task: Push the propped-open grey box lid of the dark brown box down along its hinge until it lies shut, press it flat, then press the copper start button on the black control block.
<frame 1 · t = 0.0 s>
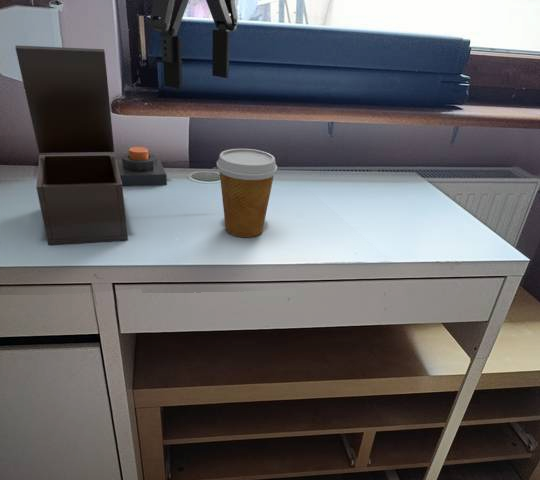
hand: (198, 81, 80), 20 cm above the table, tool pointing down, fingers open, 13 cm apart
start button: (138, 154, 99), point 5 cm above the table, slide at 0.2 cm
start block: (140, 177, 101), on the table
grey box lid: (69, 103, 76), point 17 cm above the table, hinge at 75.0°
dark brown box: (87, 223, 82), on the table
disposable coffee cup: (243, 231, 85), on the table
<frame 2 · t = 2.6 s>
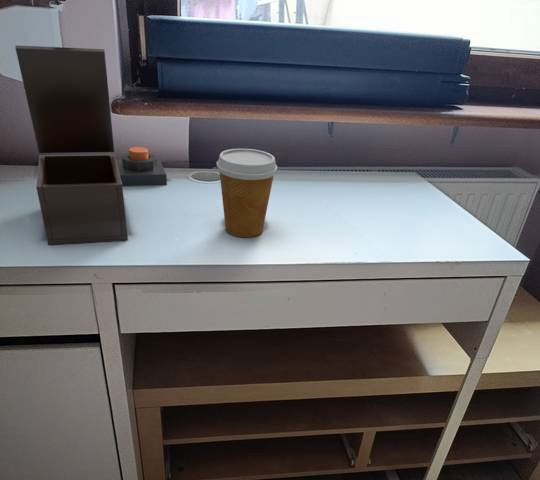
hand: (55, 0, 73), 29 cm above the table, tool pointing down, fingers closed
nothing on the table moved.
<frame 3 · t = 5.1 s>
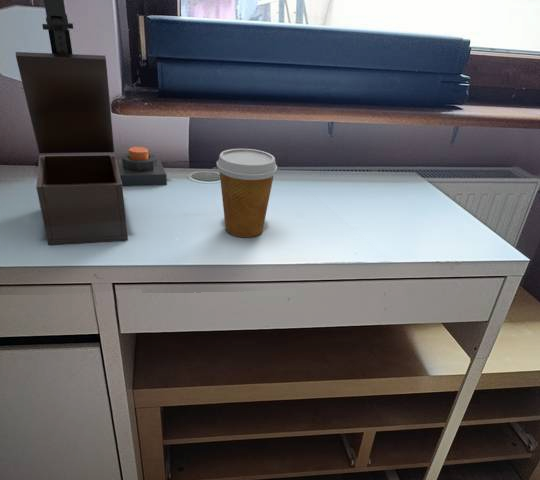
hand: (66, 82, 74), 20 cm above the table, tool pointing down, fingers closed
grey box lid: (70, 107, 76), point 16 cm above the table, hinge at 68.0°, touching gripper
everything else where it was.
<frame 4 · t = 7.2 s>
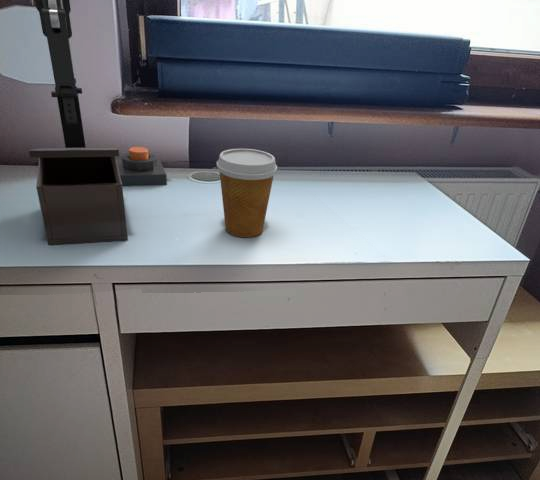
hand: (75, 146, 72), 13 cm above the table, tool pointing down, fingers closed
grey box lid: (76, 152, 75), point 11 cm above the table, hinge at 14.8°, touching gripper
everything else where it was.
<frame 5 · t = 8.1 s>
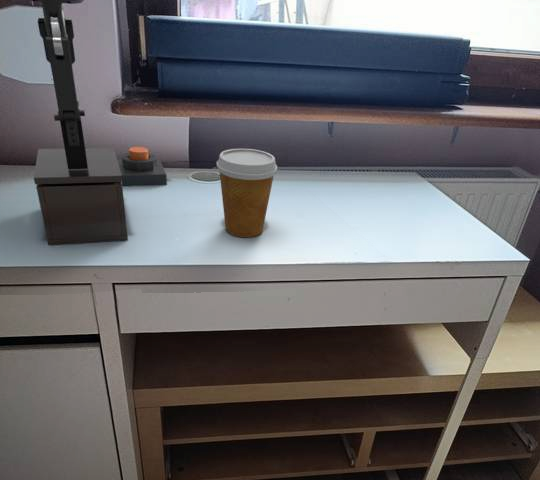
hand: (77, 167, 73), 10 cm above the table, tool pointing down, fingers closed
grey box lid: (78, 164, 76), point 10 cm above the table, hinge at 2.0°, touching gripper
everything else where it was.
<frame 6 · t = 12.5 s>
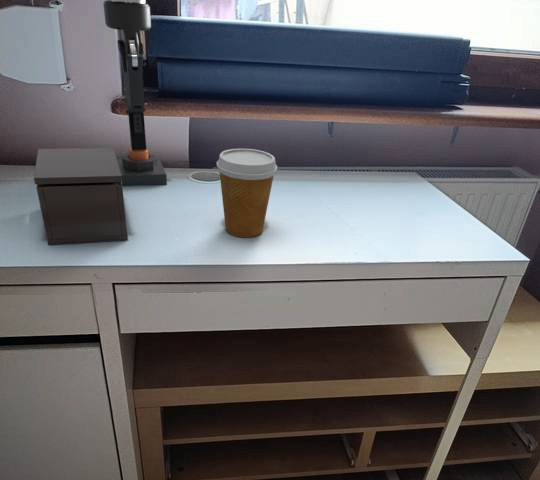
hand: (138, 148, 98), 6 cm above the table, tool pointing down, fingers closed
start button: (138, 154, 99), point 4 cm above the table, slide at 0.1 cm, touching gripper
grey box lid: (78, 164, 76), point 10 cm above the table, hinge at 1.9°
everything else where it was.
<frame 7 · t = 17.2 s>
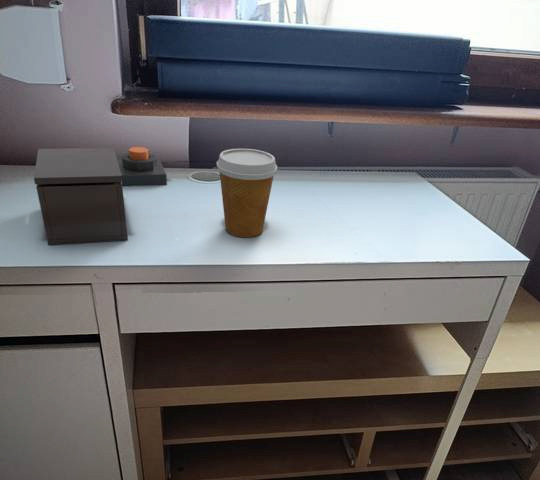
start button: (138, 154, 99), point 5 cm above the table, slide at 0.1 cm
everything else where it was.
at the end: grey box lid at +2° (first picture: +75°); start button pushed in 1.0 cm at the most during the clip, back to where it started at the end; start button slide at 0.1 cm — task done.
